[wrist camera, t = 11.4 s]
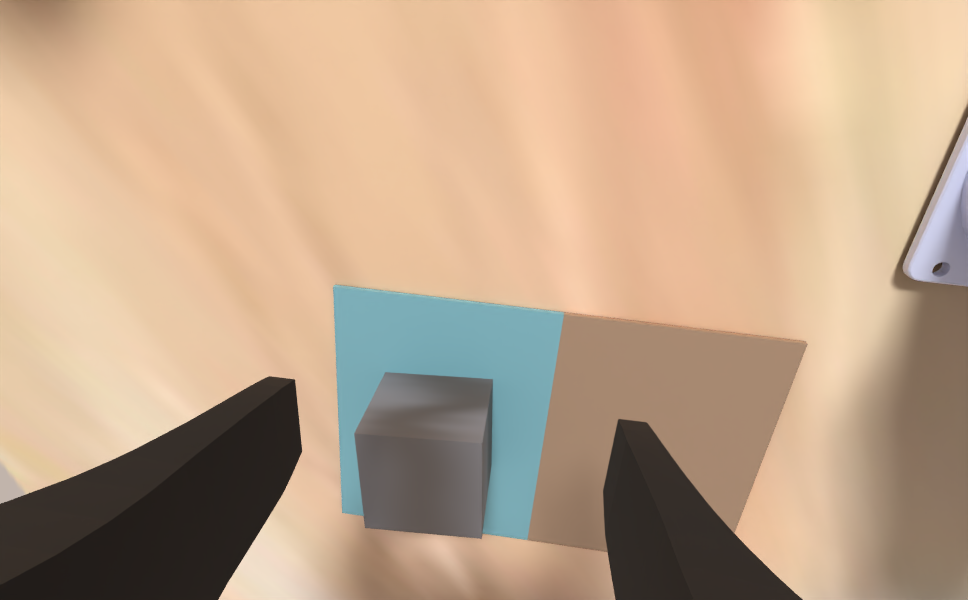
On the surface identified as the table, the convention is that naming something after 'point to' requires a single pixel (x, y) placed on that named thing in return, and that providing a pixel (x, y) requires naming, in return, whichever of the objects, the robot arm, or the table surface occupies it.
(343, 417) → the board
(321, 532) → the table surface
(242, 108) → the table surface
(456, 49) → the table surface
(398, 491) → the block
